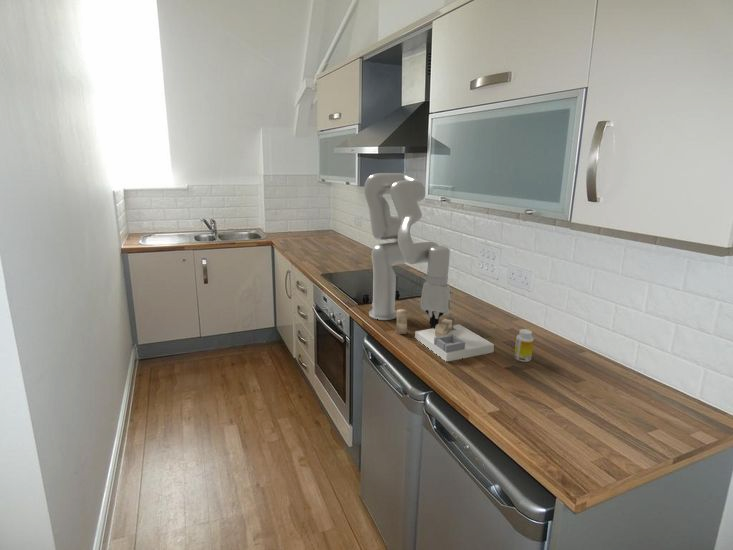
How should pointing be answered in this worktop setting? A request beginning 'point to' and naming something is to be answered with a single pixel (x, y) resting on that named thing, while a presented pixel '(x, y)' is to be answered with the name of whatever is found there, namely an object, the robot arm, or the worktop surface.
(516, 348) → the supplement bottle
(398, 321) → the loose leg
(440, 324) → the beige angular block
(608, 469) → the worktop surface
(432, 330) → the white board with frame
